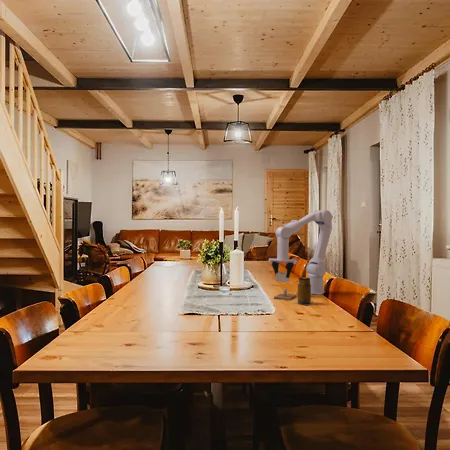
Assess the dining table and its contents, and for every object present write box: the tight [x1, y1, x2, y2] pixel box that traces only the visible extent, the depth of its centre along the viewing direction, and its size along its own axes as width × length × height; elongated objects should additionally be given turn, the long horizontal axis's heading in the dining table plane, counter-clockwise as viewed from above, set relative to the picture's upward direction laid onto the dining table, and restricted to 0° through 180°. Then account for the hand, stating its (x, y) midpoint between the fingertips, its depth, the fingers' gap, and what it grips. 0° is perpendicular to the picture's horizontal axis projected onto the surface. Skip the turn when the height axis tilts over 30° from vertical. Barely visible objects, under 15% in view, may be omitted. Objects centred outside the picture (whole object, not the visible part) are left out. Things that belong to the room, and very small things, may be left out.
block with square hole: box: [275, 271, 290, 283], centre depth 230 cm, size 5×5×4 cm
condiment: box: [293, 276, 317, 306], centre depth 210 cm, size 7×8×12 cm
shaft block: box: [273, 288, 297, 301], centre depth 224 cm, size 10×8×4 cm
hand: (282, 277), depth 230 cm, fingers closed on block with square hole, 5 cm apart
